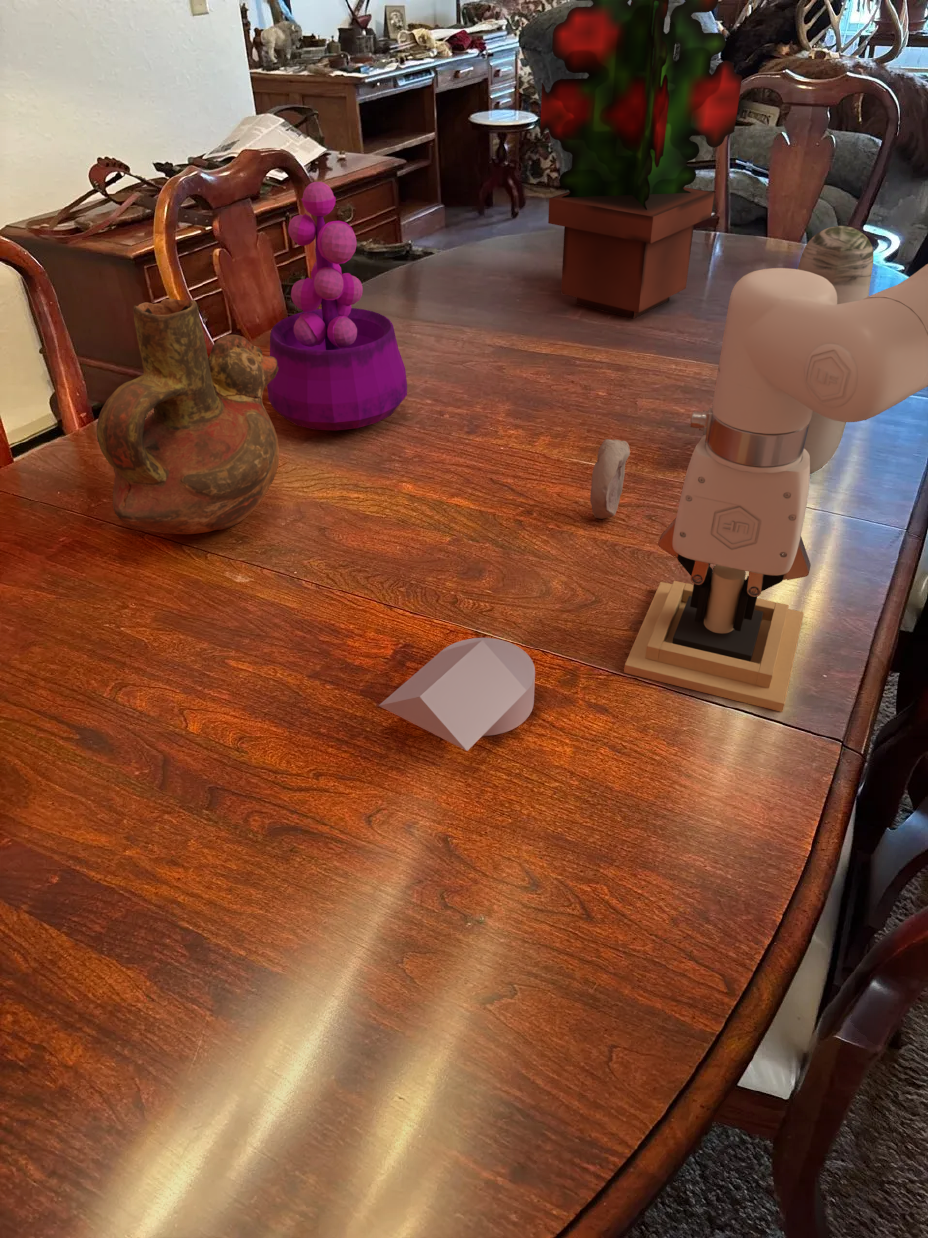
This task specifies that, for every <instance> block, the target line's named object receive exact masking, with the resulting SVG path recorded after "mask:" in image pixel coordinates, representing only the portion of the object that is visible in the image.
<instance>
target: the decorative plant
mask: <svg viewBox="0 0 928 1238" xmlns="http://www.w3.org/2000/svg"><path fill="white" fill-rule="evenodd" d="M336 200H337V197H336V196H335V195H334V192H333V190H332V188H331V187H330V186H329V184H326V183H325V182H323V181H313V182H311V183H309V184H308V185H307V186H306V187H305V188H304V190H303V195H302V198H301V202H302V205H303V208H304V209H305V211H306V212H307V213H308V214H307V213H304V214H298V215H294V216H293V217H292V218H291V220H289V223H288V227H287V231H288V232H287V233H288V235H289V238H290V239H291V240H292V241H293V242H294V243H295V244H297V246H299V247H300V246H301V247H305V246H308V245H311V243H313V242H314V241H315V246H314V247H315V248H314V253H315V262H314V263H313V266H312V268H311V272H310V277H311V278H310V277H306V278H304V279H303V278H301V279H299V280H297V281H295V282H294V284H293V285H292V287H291V290H290V298H291V300H292V303H293V304H294V306H295V307H297V309H299V310H301V311H302V312H301V311H300V312H298V313H295V314H292V315H289V316H287V317H284V318H283V319H281V320H279V321H278V322H276V324H274V325H273V326H272V328H271V330H270V333H269V334H270V335H269V356H272V357H274V358H276V360H277V367H278V368H279V369H278V372H277V374H276V376H275V378H274V379H272V380H271V382H270V383H269V384H268V385H267V386H266V388H267V397H268V398H267V400H268V402H269V403H270V405H271V406H272V408H273V410H275V411H276V412H277V413H278V414H279V415H280V416H281V417H283V418H284V419H285V420H287V421H289V422H291V423H293V424H294V425H296V426H298V427H302V428H306V429H312V430H314V431H315V430H317V431H344V430H353V429H360V428H363V427H367V426H370V425H374V424H378V423H379V422H380V421H383V420H384V419H387V418H388V417H391V416H392V414H393V413H394V412H395V411H396V410H397V408H399V406H400V405H401V404H402V402H403V401H404V400H405V398H406V397H407V396H408V380H407V373H406V372H407V371H406V367H405V363H404V361H403V357H402V355H401V352H400V350H399V346H398V341H397V337H396V331H395V327H394V324H393V322H392V321H391V320H390V318H388V317H386V315H383V314H382V313H380V312H376V311H373V310H369V309H365V308H364V309H363V308H356V307H352V306H353V305H355V304H357V303H358V302H359V301H360V300H361V298H362V297H363V293H364V292H363V291H364V289H363V284H362V282H361V280H360V279H359V278H357V276H355V275H352V274H351V273H350V272H345V273H343V272H342V267H341V266H340V265H342V264H345V263H347V262H348V261H350V260H351V259H352V258H353V256H354V254H355V253H356V249H357V245H358V244H357V243H358V242H357V237H356V233H355V231H354V229H353V227H352V226H351V225H349V224H348V223H347V222H346V221H341V220H333V221H328V222H327V223H326V222H325V219H324V217H325V216H328V215H329V214H330V213H331V212H332V211H333V210H334V207H335V206H336V202H337V201H336ZM309 214H310V215H312V216H314V217H316V222H315V220H314V219H313V218H312V217H311V216H310V215H309ZM319 307H321V308H319Z"/></svg>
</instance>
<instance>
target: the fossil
mask: <svg viewBox="0 0 928 1238" xmlns="http://www.w3.org/2000/svg"><path fill="white" fill-rule="evenodd" d="M630 455H631V451H630V445H629V442H627V441H626V440H620V439H610V438H609V439H608V438H606V439H603V441H602V443H601V444H600V446H599V447H598V451H597V456H596V461H595V463H594V466H593V469H592V473H591V485H590V486H591V488H590V495H589V498H590V505H591V510H592V511H591V512H592V514H593V517H595V518H596V519H599V520H604V519H607V518H610V517H614V516H616V513H617V511H618V507H619V505H620V500H621V496H622V493H623V488H624V481H625V476H626V475H625V474H626V463H627V461H628V458H629V457H630Z"/></svg>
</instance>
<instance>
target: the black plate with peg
mask: <svg viewBox="0 0 928 1238" xmlns="http://www.w3.org/2000/svg"><path fill="white" fill-rule="evenodd" d="M712 569H713V572H712V579H711V585H710V590H709V596H708V601H707V607H706V612H705V616H704V619H703V621H701V622H696V621H695V615H696V610H697V608H694V607H690V604H691V598H692V596H689V597H688V600H687V603H686V605H685V608H684V610H683V613H682V616H681V618H680V621H679V624H678V626H677V629H676V631H675V634H674V637H673V642H672V644H677V645H681V646H685V647H689V648H694V649H698V650H702V651H706V652H711V653H715V654H719V655H723V656H728V657H732V658H736V659H741V660H745V661H749V662H751V659H752V655H753V651H754V647H755V644H756V640H757V636H758V632H759V629H760V625H761V621H762V616H763V612H762V611H757V610H754V613H753V617H752V620H748V619H744V621H743V625H742V628H741V631H736V630H735V629H734V628H733V625H734V620H735V615H736V611H737V606H738V601H739V597H740V593H741V590H742V588H743V585H744V580H745V579H746V574H747V573H746V572H747V571H743V570H739V569H734V568H729V567H724V566H719V565H714V566H713V568H712Z"/></svg>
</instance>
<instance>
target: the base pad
mask: <svg viewBox="0 0 928 1238" xmlns="http://www.w3.org/2000/svg"><path fill="white" fill-rule="evenodd" d="M693 586H694V584H693V583H688V582H687V583H685V582H682V581H677V580H673V582H672V583H669V582H665V581H660V582H659V583H658V586H657V589H656V591H655V593H654V596H653V597H652V600H651V603H650V605H649V607H648V608H647V609H648V610H647V612H646V613H645V617H644V619H643V620H642V623H641V626H640V628H639V630H638V633H637V635H636V638H635V640H634V642H633V644H632V647H631V649H630V650H629V653H628V656H627V658H626V660H625V663H624V667H623V673H624V674H627V675H630V676H631V675H632V676H635V677H640V678H644V679H648V680H652V681H655V682H660V683H664V684H668V685H672V686H676V687H681V688H684V689H687V690H692V691H696V692H699V693H704V694H708V695H712V696H717V697H720V698H724V699H729V700H733V701H737V702H740V703H744V704H748V705H752V706H757V707H760V708H765V709H769V710H773V711H777V712H780V713H782V712H783V711H784V709H785V705H786V701H787V694H788V690H789V686H790V681H791V677H792V671H793V667H794V663H795V658H796V652H797V647H798V642H799V637H800V633H801V628H802V623H803V618H804V614H805V613H804V611H800V610H795V609H791V608H789V607H790V604H787V603H781V602H777V601H776V602H775V601H773V600H767V599H762V598H758V597H757V600H756V605H755V609H754V610H757V611H762V612H763V616H762V621H761V625H760V629H759V632H758V636H757V640H756V644H755V647H754V651H753V655H752V659H751V662H749V661H745V660H741V659H736V658H732V657H728V656H723V655H719V654H715V653H711V652H706V651H702V650H698V649H694V648H689V647H685V646H681V645H677V644H672V642H673V637H674V634H675V631H676V629H677V626H678V624H679V621H680V618H681V616H682V613H683V610H684V608H685V605H686V603H687V600H688V597H689V596H692V592H693Z"/></svg>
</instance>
